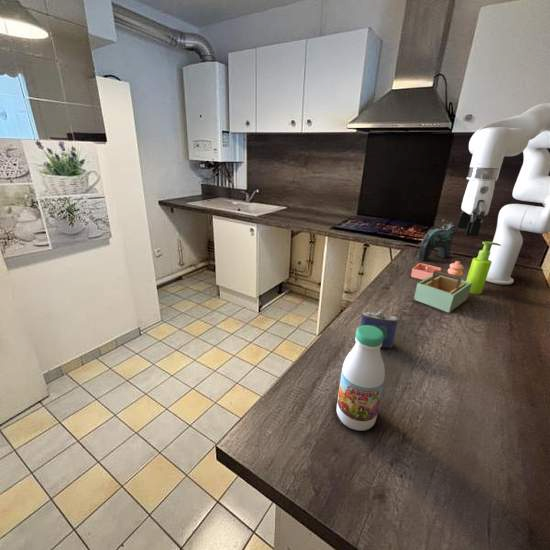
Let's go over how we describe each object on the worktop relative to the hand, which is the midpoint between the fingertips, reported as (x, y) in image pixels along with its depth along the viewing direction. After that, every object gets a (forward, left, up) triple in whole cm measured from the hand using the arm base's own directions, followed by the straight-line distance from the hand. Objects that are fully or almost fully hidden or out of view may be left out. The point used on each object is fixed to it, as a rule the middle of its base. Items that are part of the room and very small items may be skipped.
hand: (466, 231), depth 92 cm
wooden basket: (-2, -3, -26) cm, 26 cm away
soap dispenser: (-20, +2, -27) cm, 34 cm away
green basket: (-2, -3, -26) cm, 27 cm away
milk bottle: (+64, +8, -27) cm, 69 cm away
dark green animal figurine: (-48, -25, -27) cm, 61 cm away
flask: (+40, -3, -27) cm, 48 cm away
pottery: (-20, -12, -27) cm, 36 cm away
